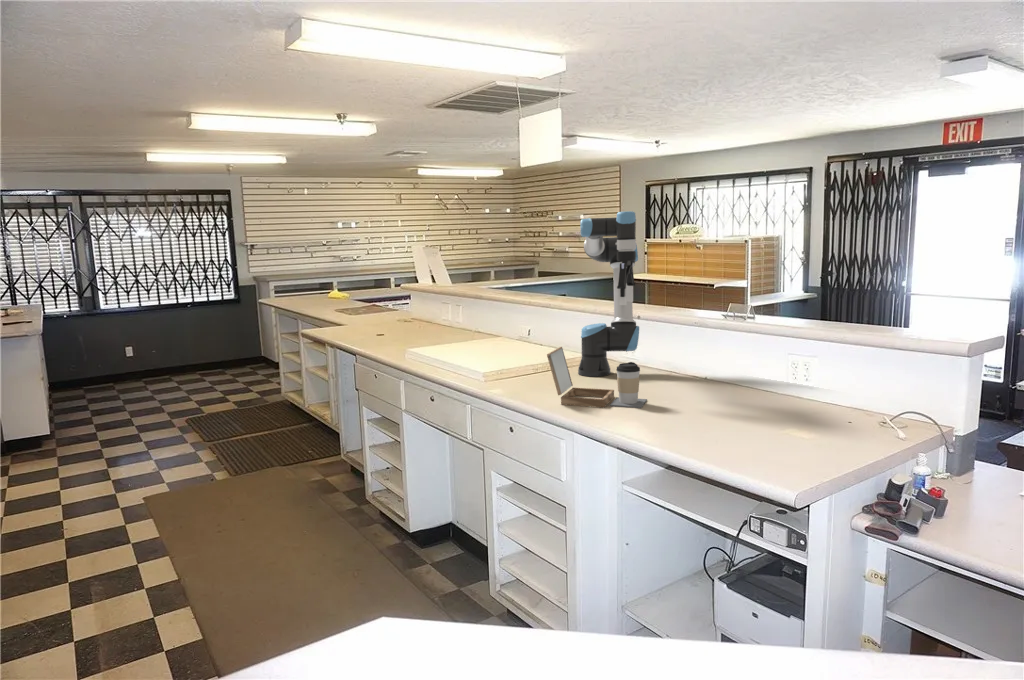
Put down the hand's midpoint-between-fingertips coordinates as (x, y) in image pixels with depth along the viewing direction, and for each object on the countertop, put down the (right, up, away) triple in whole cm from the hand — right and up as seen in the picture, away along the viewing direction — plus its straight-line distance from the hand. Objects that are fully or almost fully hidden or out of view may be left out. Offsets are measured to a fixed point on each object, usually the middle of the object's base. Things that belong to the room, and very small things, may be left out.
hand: (626, 303), depth 269 cm
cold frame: (-17, -39, -8) cm, 43 cm away
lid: (-27, -27, -5) cm, 38 cm away
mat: (-2, -39, -13) cm, 42 cm away
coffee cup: (-2, -39, -13) cm, 41 cm away
